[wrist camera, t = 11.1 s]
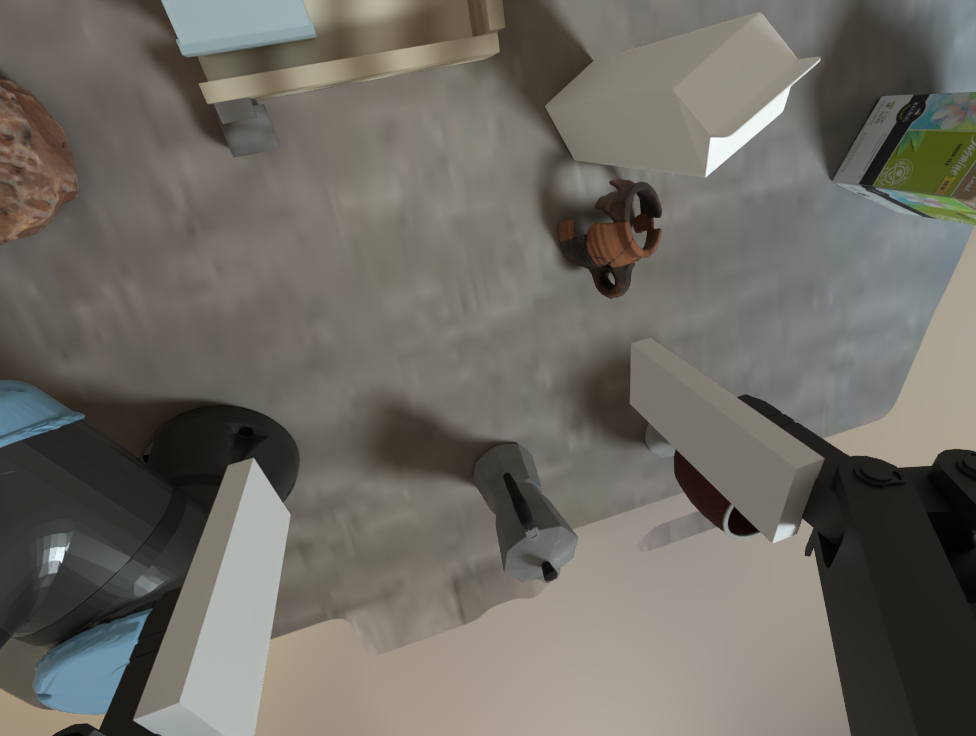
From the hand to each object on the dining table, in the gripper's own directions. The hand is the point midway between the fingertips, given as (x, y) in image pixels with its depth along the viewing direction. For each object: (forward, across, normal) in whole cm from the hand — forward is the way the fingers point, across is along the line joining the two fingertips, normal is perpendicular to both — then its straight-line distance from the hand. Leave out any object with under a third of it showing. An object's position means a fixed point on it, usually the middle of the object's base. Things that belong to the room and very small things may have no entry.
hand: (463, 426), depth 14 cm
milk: (+32, +21, +7) cm, 39 cm away
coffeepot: (+32, +6, -34) cm, 47 cm away
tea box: (+32, +63, -5) cm, 71 cm away
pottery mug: (+32, +22, -5) cm, 39 cm away
